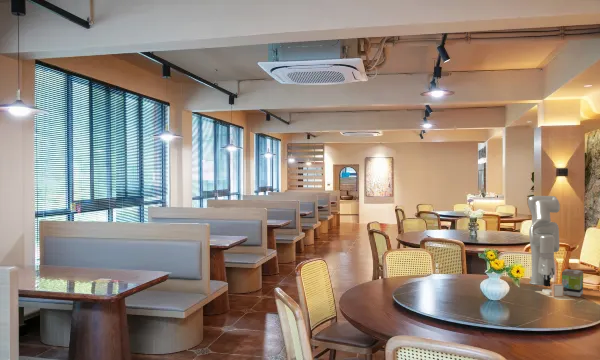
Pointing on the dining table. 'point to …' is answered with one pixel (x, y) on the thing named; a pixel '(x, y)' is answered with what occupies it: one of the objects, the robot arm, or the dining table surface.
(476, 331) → the dining table surface
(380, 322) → the dining table surface
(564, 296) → the board
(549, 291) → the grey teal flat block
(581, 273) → the tea box
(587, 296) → the dining table surface
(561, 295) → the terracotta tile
